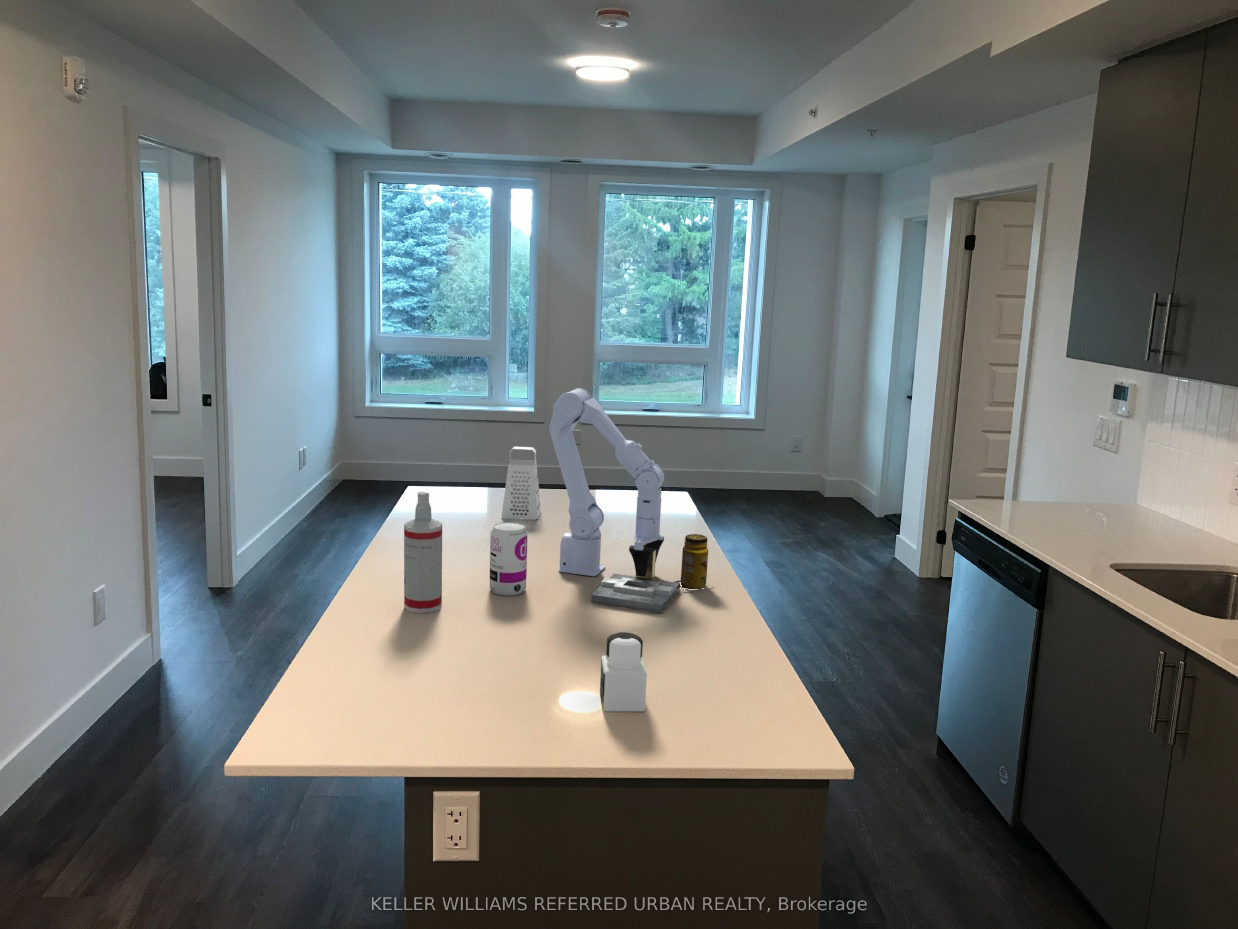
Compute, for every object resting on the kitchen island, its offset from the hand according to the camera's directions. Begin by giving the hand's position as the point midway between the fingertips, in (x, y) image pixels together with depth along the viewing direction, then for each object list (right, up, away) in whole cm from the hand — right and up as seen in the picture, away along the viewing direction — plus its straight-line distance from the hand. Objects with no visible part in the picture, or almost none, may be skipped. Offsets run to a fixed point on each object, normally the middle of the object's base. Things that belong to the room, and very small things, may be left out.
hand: (645, 571), depth 227 cm
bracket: (-2, -2, -14) cm, 14 cm away
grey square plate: (-2, -4, -13) cm, 14 cm away
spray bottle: (-48, -5, -25) cm, 54 cm away
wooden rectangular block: (0, -2, 0) cm, 2 cm away
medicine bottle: (-6, -15, -66) cm, 68 cm away
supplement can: (-32, -3, -13) cm, 34 cm away
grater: (-35, +11, +53) cm, 65 cm away
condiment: (+10, -3, -4) cm, 12 cm away
